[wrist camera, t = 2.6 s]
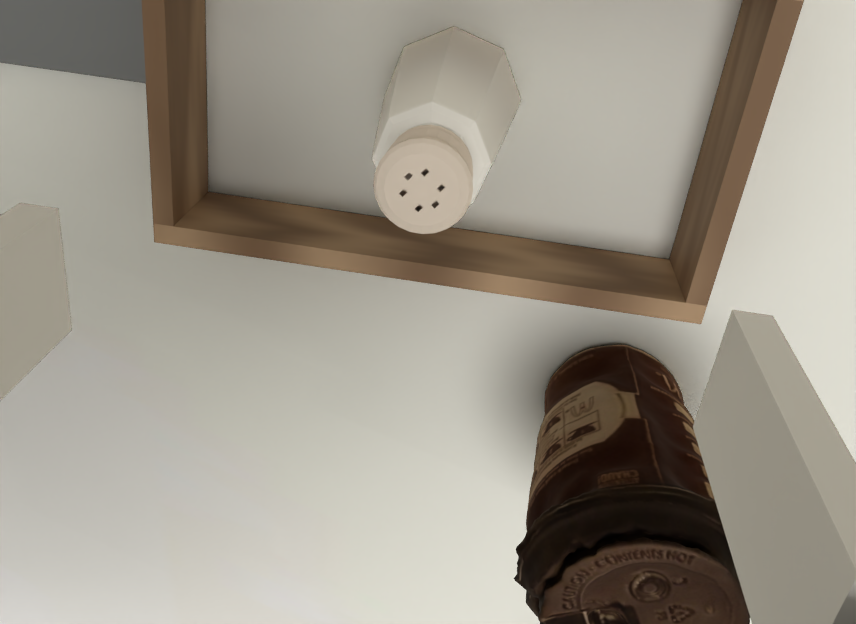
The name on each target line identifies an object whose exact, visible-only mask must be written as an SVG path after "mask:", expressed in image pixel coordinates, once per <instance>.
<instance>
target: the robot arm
mask: <svg viewBox="0 0 856 624" xmlns="http://www.w3.org/2000/svg"><path fill="white" fill-rule="evenodd" d="M71 330H72V325H71V316H70V307H69V299H68V290H67V281H66V272H65V263H64V254H63V245H62V237H61V228H60V219H59V210H58V208H52V207H45V206H38V205H32V204H25V203H19V204H18V205H16V206H15V207H13V208H11V209H10V210H8V211H7V212H5V213H4V214H2V215H1V216H0V401H1V400H2V399H3V398H4V397H5V396H6V395H7V394H8V393H9V392H10V391H11V390H12V389H13V388H14V387H15V386H16V385H17V384H18V383H19V382H20V381H21V380H22V379H23V378H24V377H25V376H26V375H27V374H28V373H29V372H30V371H31V370H32V369H33V368H34V367H35V366H36V365H37V364H38V363H39V362H40V361H41V360H42V359H43V358H44V357H45V356H46V355H47V354H48V353H49V352H50V351H51V350H52V349H53V348H54V347H55V346H56V345H57V344H58V343H59V342H60V341H61V340H62V339H63V338H64V337H65V336H66V335H67V334H68V333H69V332H70V331H71ZM693 429H694V432H695V436H696V439H697V442H698V446H699V449H700V452H701V456H702V459H703V462H704V466H705V469H706V472H707V476H708V479H709V482H710V485H711V489H712V492H713V495H714V499H715V502H716V505H717V509H718V512H719V515H720V519H721V522H722V525H723V528H724V532H725V535H726V538H727V542H728V545H729V548H730V552H731V555H732V558H733V562H734V565H735V568H736V572H737V575H738V578H739V581H740V585H741V588H742V591H743V595H744V598H745V601H746V605H747V608H748V611H749V615H750V618H751V621H752V624H856V463H855V461H854V459H853V457H852V456H851V454H850V452H849V450H848V448H847V447H846V445H845V443H844V441H843V440H842V438H841V436H840V434H839V432H838V431H837V429H836V427H835V425H834V424H833V422H832V420H831V418H830V416H829V415H828V413H827V411H826V409H825V408H824V406H823V404H822V402H821V400H820V399H819V397H818V395H817V393H816V391H815V390H814V388H813V386H812V384H811V383H810V381H809V379H808V377H807V375H806V374H805V372H804V370H803V368H802V367H801V365H800V363H799V361H798V359H797V358H796V356H795V354H794V352H793V351H792V349H791V347H790V345H789V343H788V342H787V340H786V338H785V336H784V335H783V333H782V331H781V329H780V327H779V326H778V324H777V322H776V320H775V319H774V317H773V316H771V315H764V314H757V313H751V312H744V311H737V310H732V312H731V315H730V318H729V321H728V324H727V327H726V330H725V333H724V336H723V339H722V342H721V345H720V348H719V351H718V354H717V357H716V360H715V362H714V365H713V368H712V371H711V374H710V377H709V380H708V383H707V386H706V389H705V392H704V395H703V398H702V401H701V404H700V407H699V410H698V413H697V416H696V419H695V422H694V425H693Z"/></svg>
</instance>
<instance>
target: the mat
mask: <svg viewBox="0 0 856 624" xmlns="http://www.w3.org/2000/svg"><path fill="white" fill-rule="evenodd" d="M0 62H1V63H8V64H15V65H22V66H29V67H36V68H43V69H50V70H57V71H64V72H71V73H78V74H85V75H92V76H99V77H106V78H113V79H120V80H127V81H134V82H141V83H146V75H145V56H144V37H143V18H142V0H0Z"/></svg>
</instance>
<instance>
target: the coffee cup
mask: <svg viewBox="0 0 856 624" xmlns="http://www.w3.org/2000/svg"><path fill="white" fill-rule="evenodd" d="M693 425H694V420H693V418H692V416H691V414H690V413H689V411H688V410H687V409H686V407H685V406H684V401H683V397H682V393H681V391H680V389H679V386H678V384H677V382H676V380H675V379H674V377H673V376H672V375H671V373H670V372H669V371H668V370H667V369H666V368H665V367H664V366H663V365H662V364H661V363H660V362H659V361H658V360H657V359H655V358H654V357H653V356H651V355H649V354H647V353H646V352H644V351H642V350H639V349H636V348H633V347H630V346H628V345H608V346H601V347H594V348H590V349H587V350H584V351H582V352H580V353H578V354H576V355H574V356H573V357H571V358H570V359H569V360H568V361H566V362H565V363H564V364H563V365H562V366H561V367H560V368H559V369H558V370H557V371H556V372H555V373H554V374H553V376H552V377H551V379H550V381H549V383H548V386H547V389H546V391H545V416H544V420H543V423H542V424H541V427H540V431H539V434H538V438H537V447H536V455H535V462H534V473H533V477H532V482H531V487H530V494H529V503H528V511H527V519H526V527H527V533H526V536H525V538H524V540H523V541H522V542H521V543H520V544H519V545H518V546H517V548H516V551H517V554H518V556H519V559H518V562H517V565H518V567H517V575H516V576H515V578H514V579H515V581H516V582H517V583H519V584H520V585H521V586H522V587H523V588H524V589H526V590H527V591H526V603H527V605H528V606H529V607H530V609H531V610H532V611H533V612H534V614H535V615H536V616H537V617H538V620H539V621H540V624H749V623H750V619H749V618H750V615H749V611H748V608H747V605H746V601H745V598H744V595H743V591H742V588H741V585H740V581H739V578H738V575H737V572H736V568H735V565H734V562H733V558H732V555H731V552H730V548H729V545H728V542H727V538H726V535H725V532H724V528H723V525H722V522H721V519H720V515H719V512H718V509H717V505H716V502H715V499H714V495H713V492H712V489H711V485H710V482H709V479H708V476H707V472H706V469H705V466H704V462H703V459H702V456H701V452H700V449H699V446H698V442H697V439H696V436H695V432H694V429H693Z"/></svg>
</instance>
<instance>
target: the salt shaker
mask: <svg viewBox="0 0 856 624" xmlns="http://www.w3.org/2000/svg"><path fill="white" fill-rule="evenodd" d="M520 103H521V98H520V95H519V92H518V89H517V86H516V83H515V81H514V78H513V75H512V72H511V69H510V66H509V63H508V60H507V57H506V55H505V52H504V49H502V48H500V47H497V46H495V45H493V44H491V43H489V42H487V41H485V40H482V39H480V38H478V37H476V36H474V35H472V34H470V33H467V32H465V31H463V30H461V29H459V28H457V27H451V28H449V29H446V30H444V31H441V32H439V33H436V34H434V35H431V36H429V37H427V38H424V39H422V40H419V41H417V42H414V43H412V44H409V45H407V46H404V48H403V51H402V53H401V56H400V58H399V61H398V63H397V66H396V68H395V71H394V73H393V76H392V78H391V81H390V83H389V86H388V88H387V91H386V93H385V96H384V101H383V105H382V110H381V115H380V119H379V124H378V129H377V133H376V138H375V143H374V147H373V152H372V160H373V163H374V165H375V167H376V171H375V175H374V184H373V187H374V193H375V198H376V200H377V203H378V205H379V207H380V209H381V211H382V212H383V213H384V214H385V216H386V217H387V218H388V219H389V220H390V221H391V222H393V223H394V224H395V225H397V226H398V227H400V228H402V229H404V230H407V231H409V232H413V233H419V234H431V233H437V232H440V231H443V230H446V229H448V228H450V227H451V226H453V225H454V224H456V223H457V222H458V221H459V220H460V219H461V218H462V217H463V215H464V214H465V213H466V211H467V209H468V207H469V205H470V204H473V202H474V201H475V199H476V197H477V195H478V193H479V191H480V189H481V187H482V185H483V183H484V180H485V178H486V176H487V174H488V172H489V170H490V168H491V166H492V164H493V162H494V160H495V158H496V156H497V154H498V152H499V149H500V147H501V145H502V143H503V141H504V138H505V136H506V134H507V132H508V129H509V127H510V125H511V123H512V121H513V118H514V116H515V114H516V112H517V110H518V107H519V105H520Z"/></svg>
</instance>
